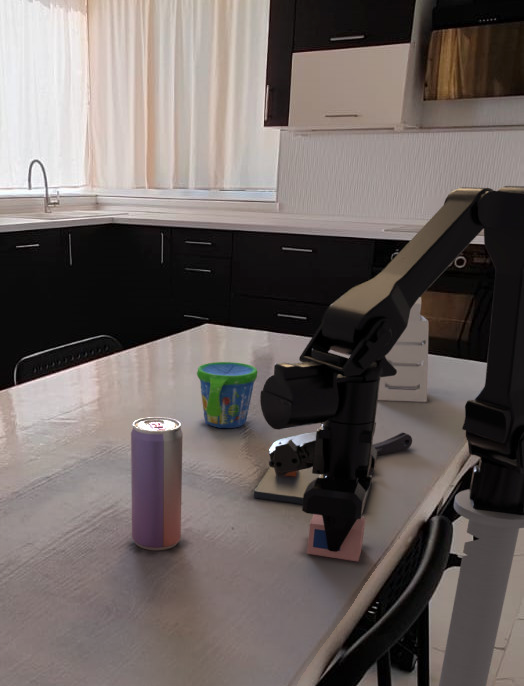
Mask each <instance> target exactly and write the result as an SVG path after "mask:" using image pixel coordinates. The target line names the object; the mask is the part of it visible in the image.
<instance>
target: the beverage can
mask: <svg viewBox="0 0 524 686" xmlns="http://www.w3.org/2000/svg"><path fill="white" fill-rule="evenodd" d="M183 434H184V433H183V431H182V424H181V422H180V421H179V420H177V419H174V418H170V417H162V416H150V417H143V418H139V419H137V420H135V421H134V422H133V423H132V429H131V432H130V467H131V468H130V473H131V474H130V475H131V476H130V479H131V482H130V483H131V484H130V485H131V538H132V540H133V542H134V544H135V545H136V546H137V547H139V548H140V549H143V550H146V551H153V552H157V551H160V552H161V551H166V550H170V549H172V548H174V547H175V546H176V545H178V543H179V542H180V540H181V538H182V495H183V494H182V493H183V492H182V489H183V488H182V487H183V485H182V483H183V436H184V435H183Z"/></svg>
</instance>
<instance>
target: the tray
mask: <svg viewBox="0 0 524 686" xmlns="http://www.w3.org/2000/svg"><path fill="white" fill-rule="evenodd" d="M312 469H313V468H308V469H303V470H299V472H298V474H297V475H296V477H292V476H284V475H283V476H277V475H276V474H275V470H274V468H272V467H270V466H269V468H268V469H267V471H266V472H265V474H264V475H263V477H262V478H261V480H260V481H259V483H258V485H257V486H256V487H255V489H254V490H253V498H254V499H262V500H268V501H274V502H275V501H276V502H283V503H284V502H285V503H291V504H297V505H303V495H304V493H305V491H306V489H307V487H308V484H309V483H311V482H312V481H313V480H315V479H316V478H318V477H320V475H321V474H313V473H312ZM369 476H370V477H372V478H373V475H369ZM372 481H373V479H372V480H371V483H370V486H369V488H368V490H367V492H366V495H365V505H364V508H363V512H364V510H365V507H366V503H367V500H368V496H369V493H370V489H371V485H372Z"/></svg>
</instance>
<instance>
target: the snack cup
mask: <svg viewBox="0 0 524 686" xmlns="http://www.w3.org/2000/svg"><path fill="white" fill-rule="evenodd" d="M196 375H197V378H198V380H199V382H200V393H201V403H202V409H203V418H204V422H205V425H210V426H212V427H214V428H219V429H235V428H240V427H242V426H243V425H245V423H246V421H247V419H248V414H249V410H250V405H251V400H252V395H253V390H254V384H255V381H256V379H257V377H258V369H257V367H255V366H254V365H251V364H247V363H243V362H235V361H234V362H233V361H218V362H217V361H216V362H208V363H204V364H200V365H199V366H198V368H197V371H196Z"/></svg>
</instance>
